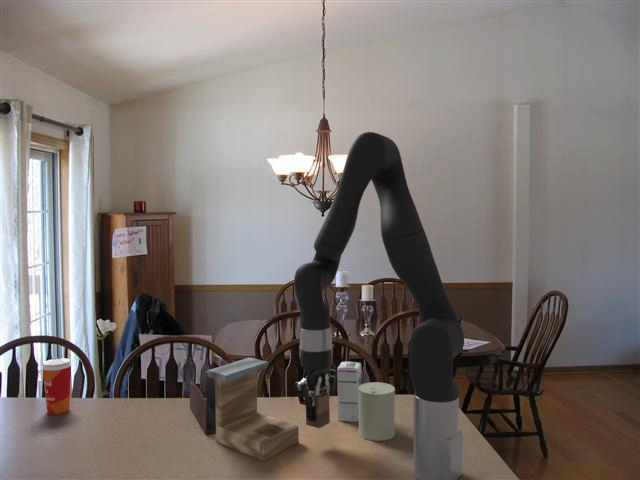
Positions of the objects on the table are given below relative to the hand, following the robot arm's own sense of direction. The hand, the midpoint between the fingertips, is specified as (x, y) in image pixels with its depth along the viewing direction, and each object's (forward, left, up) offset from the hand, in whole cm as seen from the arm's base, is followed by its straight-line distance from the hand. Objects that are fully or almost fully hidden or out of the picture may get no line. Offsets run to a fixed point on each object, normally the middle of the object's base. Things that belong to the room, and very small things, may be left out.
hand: (317, 417), depth 128 cm
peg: (0, 0, -2) cm, 2 cm away
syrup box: (+4, -18, -7) cm, 20 cm away
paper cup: (+71, +28, -7) cm, 76 cm away
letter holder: (+32, +4, -7) cm, 33 cm away
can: (-7, -14, -7) cm, 17 cm away
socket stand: (+13, +8, -7) cm, 16 cm away
